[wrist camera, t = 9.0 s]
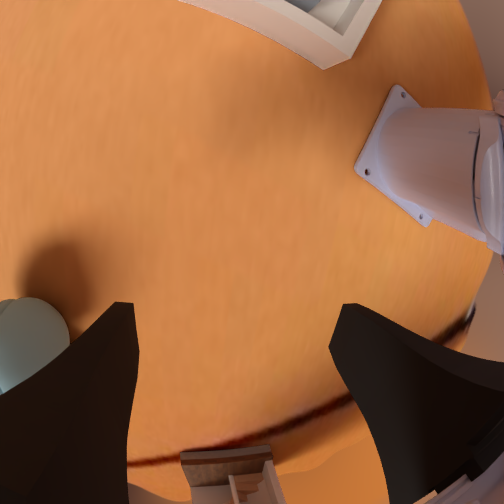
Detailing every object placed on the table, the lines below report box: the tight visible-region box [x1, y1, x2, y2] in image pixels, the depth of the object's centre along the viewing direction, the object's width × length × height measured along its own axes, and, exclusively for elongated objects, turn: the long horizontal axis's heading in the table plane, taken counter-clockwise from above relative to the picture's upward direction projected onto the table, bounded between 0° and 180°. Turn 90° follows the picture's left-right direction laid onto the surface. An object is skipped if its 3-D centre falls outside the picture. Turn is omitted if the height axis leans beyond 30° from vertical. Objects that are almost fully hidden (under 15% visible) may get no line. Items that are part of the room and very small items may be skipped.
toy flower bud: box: [0, 297, 70, 395], centre depth 14 cm, size 7×9×12 cm
